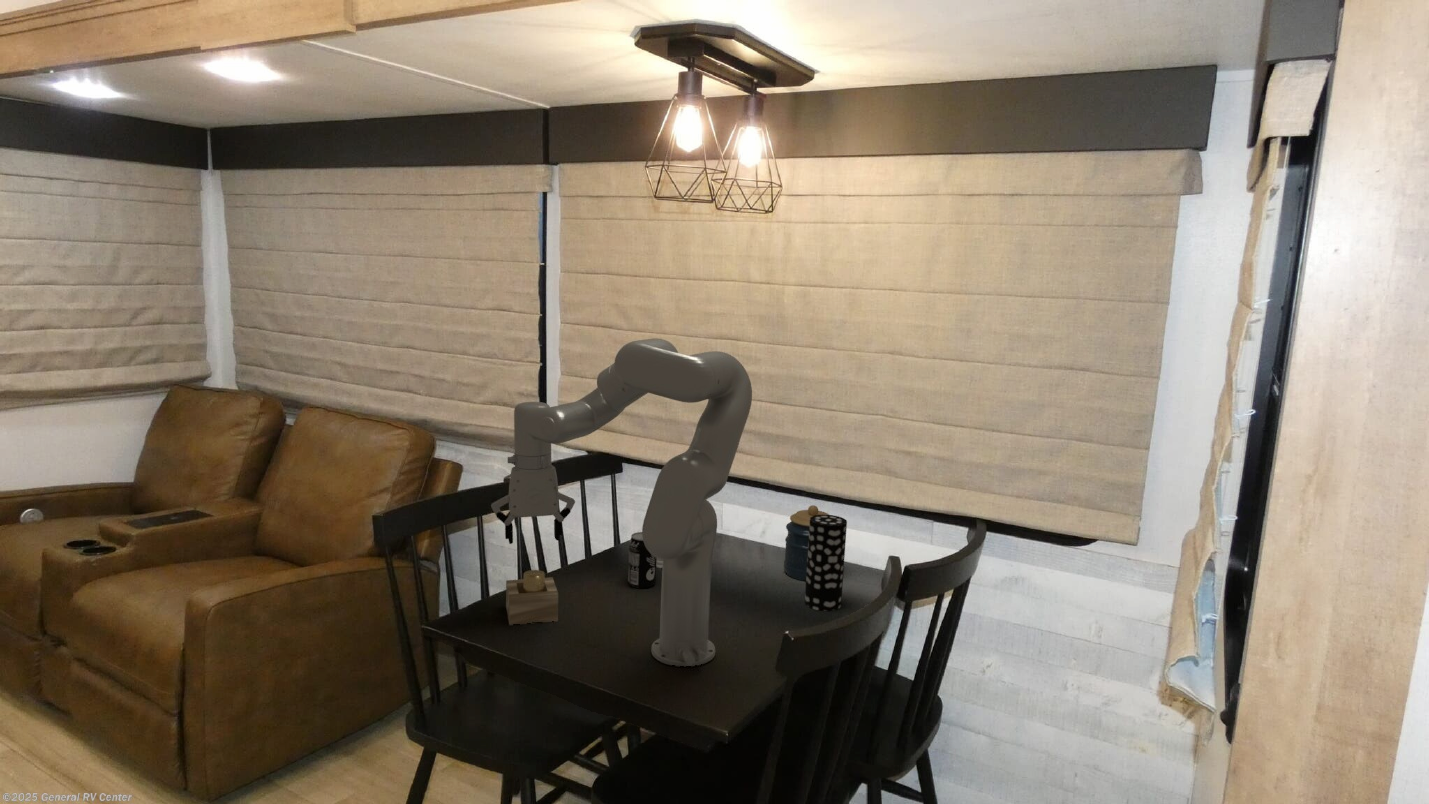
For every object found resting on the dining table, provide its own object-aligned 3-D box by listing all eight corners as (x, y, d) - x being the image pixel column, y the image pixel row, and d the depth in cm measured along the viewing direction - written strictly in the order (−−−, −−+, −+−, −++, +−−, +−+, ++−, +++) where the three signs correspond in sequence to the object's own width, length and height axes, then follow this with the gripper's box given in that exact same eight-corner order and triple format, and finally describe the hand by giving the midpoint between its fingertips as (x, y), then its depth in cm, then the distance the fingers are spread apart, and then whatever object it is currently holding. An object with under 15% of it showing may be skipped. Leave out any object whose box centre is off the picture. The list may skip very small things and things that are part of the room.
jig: (557, 621, 179) (558, 594, 178) (509, 625, 176) (509, 598, 175) (552, 602, 188) (552, 577, 187) (506, 606, 185) (506, 580, 184)
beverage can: (657, 580, 204) (659, 532, 202) (653, 590, 198) (654, 541, 196) (631, 578, 205) (632, 530, 203) (625, 588, 198) (626, 539, 197)
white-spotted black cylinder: (813, 594, 200) (819, 512, 197) (846, 602, 196) (852, 519, 192) (798, 605, 193) (803, 520, 190) (832, 614, 189) (838, 528, 185)
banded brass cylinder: (544, 612, 180) (545, 576, 179) (524, 614, 179) (524, 577, 178) (542, 604, 185) (543, 569, 183) (521, 605, 183) (522, 570, 182)
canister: (834, 566, 219) (838, 500, 216) (835, 584, 207) (840, 514, 204) (784, 562, 221) (787, 496, 218) (782, 580, 208) (786, 511, 205)
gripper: (491, 467, 170) (492, 549, 173) (577, 463, 176) (577, 542, 178) (489, 459, 177) (490, 537, 180) (572, 455, 183) (572, 532, 185)
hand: (533, 540), depth 179 cm, fingers open, 9 cm apart
